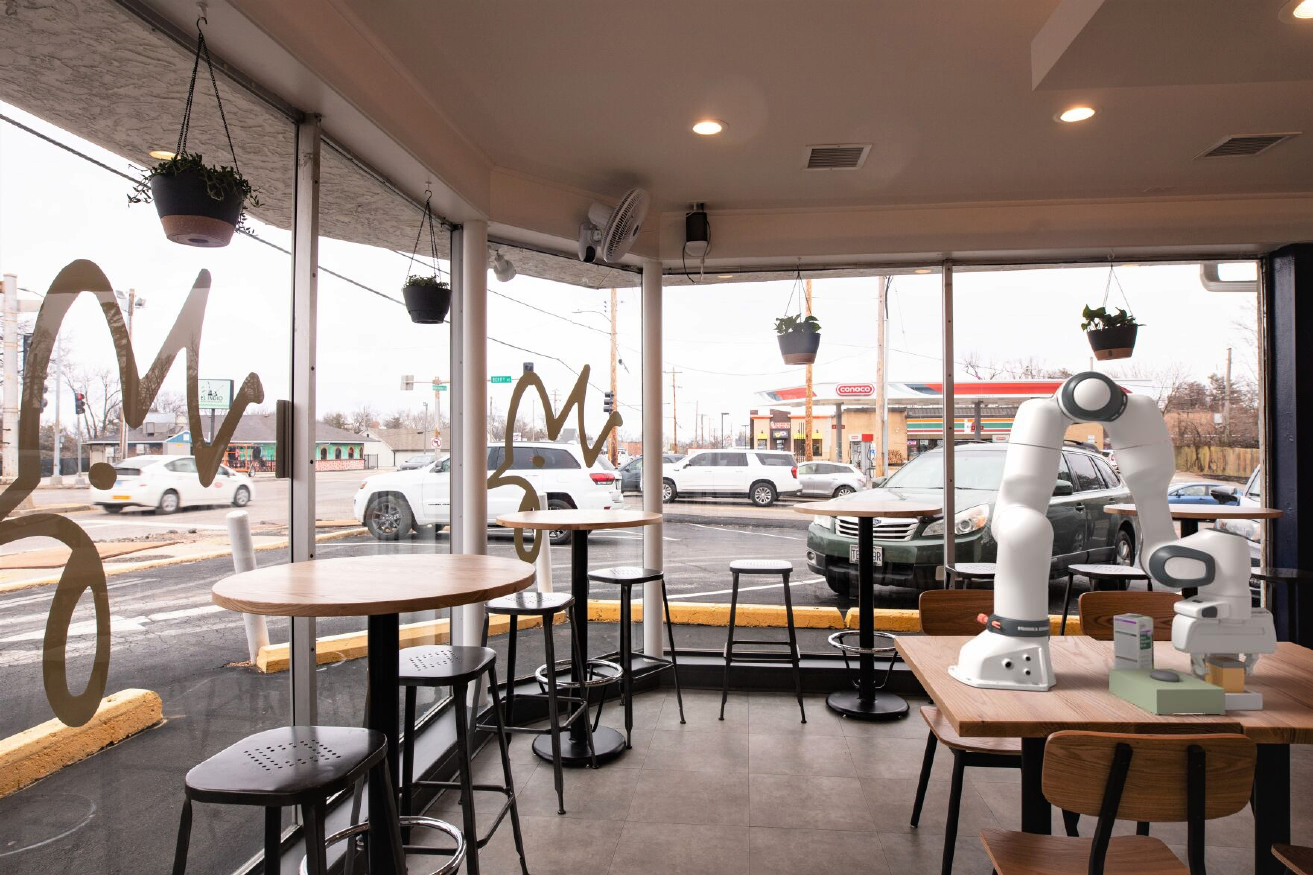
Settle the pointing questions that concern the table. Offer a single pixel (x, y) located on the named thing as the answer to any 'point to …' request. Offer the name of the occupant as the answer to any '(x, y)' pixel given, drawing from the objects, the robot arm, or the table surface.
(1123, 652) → the syrup box
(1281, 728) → the table surface
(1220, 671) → the orange and grey block
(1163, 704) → the knobbed slab with frame
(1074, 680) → the table surface
